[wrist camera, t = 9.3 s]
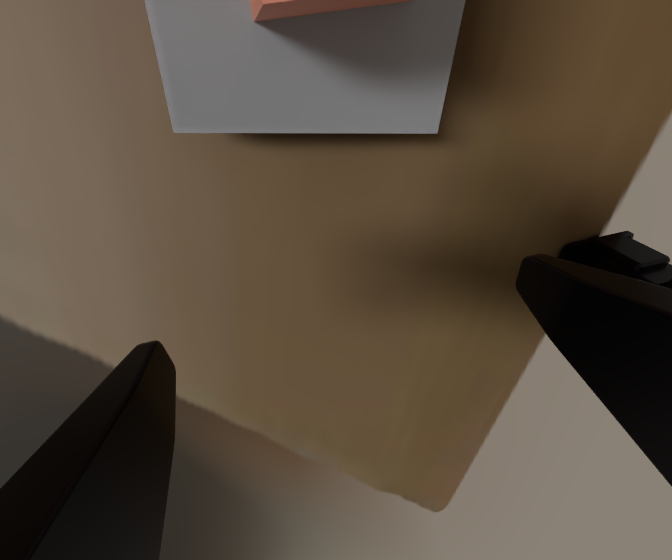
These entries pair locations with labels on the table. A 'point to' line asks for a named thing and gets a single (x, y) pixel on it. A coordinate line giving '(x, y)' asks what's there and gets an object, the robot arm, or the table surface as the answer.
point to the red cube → (307, 7)
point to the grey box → (305, 67)
